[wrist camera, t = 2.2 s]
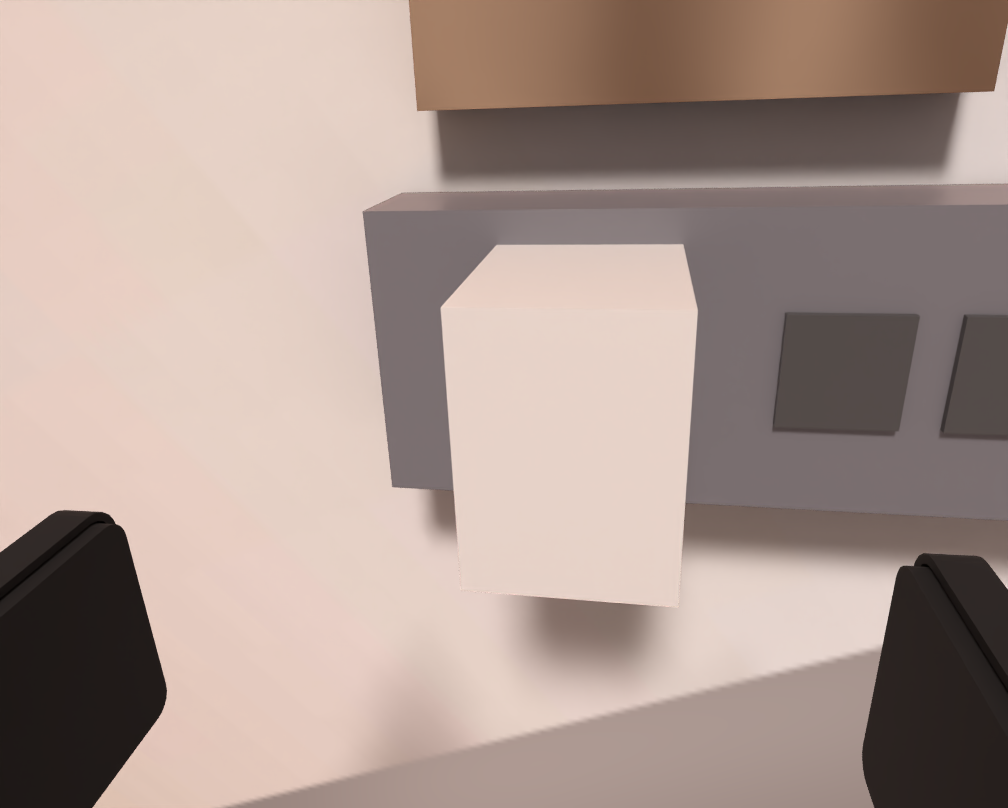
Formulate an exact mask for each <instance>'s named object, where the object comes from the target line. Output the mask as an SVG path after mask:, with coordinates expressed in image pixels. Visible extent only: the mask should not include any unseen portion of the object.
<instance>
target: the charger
mask: <svg viewBox="0 0 1008 808" xmlns="http://www.w3.org/2000/svg"><path fill="white" fill-rule="evenodd" d="M697 316H698V309H697V304H696V300H695V295H694V291H693V286H692V282H691V277H690V272H689V268H688V263H687V259H686V254H685V250H684V245H683V244H600V245H496V246H495V247H494V248H493V249H492V251H491V252H490V253H489V254H488V255H487V256H486V257H485V258H484V259H483V261H482V262H481V263H480V264H479V265H478V266H477V267H476V268H475V270H474V271H473V272H472V273H471V274H470V275H469V276H468V277H467V278H466V280H465V281H464V282H463V283H462V284H461V285H460V286H459V287H458V289H457V290H456V291H455V292H454V293H453V294H452V295H451V296H450V297H449V299H448V300H447V301H446V302H445V303H444V304H443V305H442V306H441V321H442V335H443V349H444V363H445V377H446V391H447V405H448V419H449V432H450V446H451V460H452V474H453V488H454V502H455V516H456V530H457V544H458V558H459V572H460V586H461V591H471V592H484V593H497V594H509V595H522V596H535V597H548V598H561V599H574V600H587V601H600V602H613V603H625V604H638V605H651V606H664V607H677V608H678V606H679V591H680V576H681V560H682V545H683V530H684V515H685V499H686V484H687V469H688V453H689V438H690V423H691V408H692V392H693V377H694V362H695V346H696V331H697Z"/></svg>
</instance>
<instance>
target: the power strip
mask: <svg viewBox="0 0 1008 808" xmlns="http://www.w3.org/2000/svg"><path fill="white" fill-rule="evenodd" d="M363 218H364V227H365V237H366V246H367V255H368V265H369V274H370V283H371V292H372V302H373V311H374V320H375V330H376V339H377V348H378V358H379V367H380V376H381V386H382V395H383V404H384V413H385V423H386V432H387V441H388V451H389V460H390V469H391V479H392V487H399V488H417V489H435V490H454V488H453V474H452V460H451V446H450V432H449V419H448V405H447V391H446V377H445V363H444V349H443V335H442V321H441V306H442V305H443V304H444V303H445V302H446V301H447V300H448V299H449V297H450V296H451V295H452V294H453V293H454V292H455V291H456V290H457V289H458V287H459V286H460V285H461V284H462V283H463V282H464V281H465V280H466V278H467V277H468V276H469V275H470V274H471V273H472V272H473V271H474V270H475V268H476V267H477V266H478V265H479V264H480V263H481V262H482V261H483V259H484V258H485V257H486V256H487V255H488V254H489V253H490V252H491V251H492V249H493V248H494V247H495V246H496V245H600V244H683V245H684V250H685V254H686V259H687V263H688V268H689V272H690V277H691V282H692V286H693V291H694V295H695V300H696V304H697V309H698V316H697V331H696V346H695V362H694V377H693V392H692V408H691V423H690V438H689V453H688V469H687V484H686V499H685V503H692V504H711V505H729V506H748V507H766V508H784V509H803V510H821V511H839V512H858V513H876V514H895V515H913V516H931V517H950V518H968V519H986V520H1005V521H1008V184H952V185H886V186H819V187H752V188H685V189H619V190H552V191H485V192H418V193H401V194H398V195H396V196H394V197H392V198H390V199H388V200H386V201H384V202H382V203H379V204H377V205H375V206H373V207H371V208H369V209H367V210H365V211H363Z"/></svg>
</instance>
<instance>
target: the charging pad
mask: <svg viewBox="0 0 1008 808" xmlns="http://www.w3.org/2000/svg"><path fill="white" fill-rule="evenodd" d="M409 8H410V21H411V35H412V48H413V61H414V74H415V87H416V100H417V111H430V110H459V109H488V108H518V107H547V106H576V105H606V104H635V103H664V102H694V101H723V100H752V99H781V98H811V97H840V96H869V95H899V94H928V93H957V92H987V91H994V89H995V84H996V79H997V74H998V69H999V64H1000V59H1001V54H1002V49H1003V44H1004V39H1005V34H1006V29H1007V24H1008V0H409Z"/></svg>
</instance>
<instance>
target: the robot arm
mask: <svg viewBox="0 0 1008 808" xmlns="http://www.w3.org/2000/svg"><path fill="white" fill-rule="evenodd" d="M166 695H167V688H166V683H165V679H164V675H163V671H162V668H161V664H160V660H159V656H158V653H157V649H156V645H155V641H154V638H153V634H152V630H151V627H150V623H149V619H148V615H147V612H146V608H145V604H144V600H143V597H142V593H141V589H140V585H139V582H138V578H137V574H136V570H135V567H134V563H133V559H132V555H131V552H130V548H129V544H128V541H127V537H126V534H125V532H124V530H123V529H122V527H121V526H119V525H116V524H115V522H114V520H113V519H112V518H111V516H110V515H108V514H106V513H103V512H89V511H70V510H63V511H57V512H55V513H53V514H51V515H50V516H48V517H47V518H46V519H44V520H43V521H42V522H40V523H39V524H38V525H36V526H35V527H34V528H32V529H31V530H30V531H28V532H27V533H26V534H24V535H23V536H22V537H20V538H19V539H18V540H16V541H15V542H14V543H12V544H11V545H10V546H8V547H7V548H6V549H4V550H3V551H2V552H0V808H92V807H93V806H94V805H95V803H96V802H97V801H98V799H99V798H100V797H101V795H102V794H103V792H104V791H105V790H106V788H107V787H108V786H109V784H110V783H111V782H112V780H113V779H114V778H115V776H116V775H117V773H118V772H119V771H120V769H121V768H122V767H123V765H124V764H125V763H126V761H127V760H128V759H129V757H130V756H131V754H132V753H133V752H134V750H135V749H136V748H137V746H138V745H139V744H140V742H141V741H142V740H143V738H144V737H145V735H146V734H147V733H148V731H149V730H150V729H151V727H152V726H153V725H154V723H155V722H156V721H157V719H158V718H159V716H160V714H161V713H162V710H163V708H164V705H165V701H166ZM862 761H863V770H864V776H865V780H866V784H867V787H868V790H869V793H870V796H871V799H872V802H873V805H874V808H1008V589H1007V588H1006V587H1005V585H1004V584H1003V583H1002V581H1001V580H1000V579H999V577H998V576H997V575H996V574H995V572H994V571H993V570H992V568H991V567H990V566H989V564H988V563H987V562H986V561H985V560H984V559H983V558H981V557H978V556H965V555H945V554H925V553H923V554H921V555H920V556H919V557H918V558H917V560H916V561H915V564H914V566H902V567H900V569H899V571H898V573H897V576H896V581H895V586H894V591H893V596H892V601H891V606H890V611H889V616H888V621H887V626H886V631H885V637H884V642H883V647H882V652H881V657H880V662H879V667H878V672H877V678H876V682H875V687H874V692H873V697H872V703H871V708H870V714H869V718H868V723H867V728H866V733H865V738H864V743H863V751H862Z"/></svg>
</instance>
